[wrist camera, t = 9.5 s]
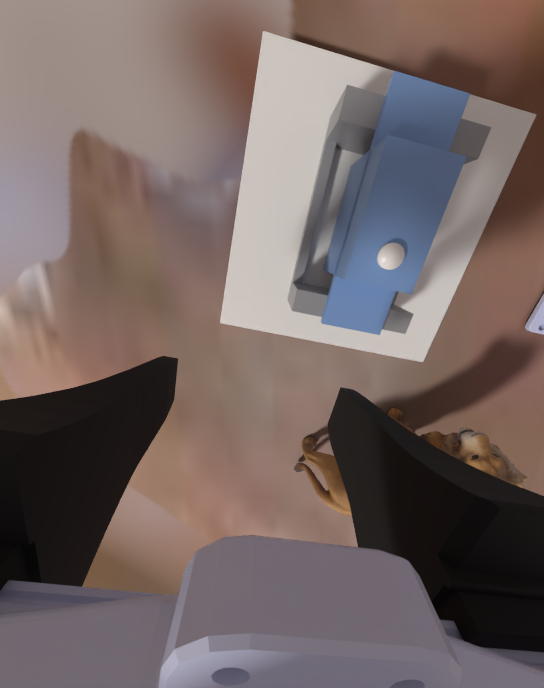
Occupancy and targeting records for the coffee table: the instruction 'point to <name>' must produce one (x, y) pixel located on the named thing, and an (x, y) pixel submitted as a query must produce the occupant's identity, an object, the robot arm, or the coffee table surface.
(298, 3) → the coffee table surface
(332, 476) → the lion figurine
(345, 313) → the block
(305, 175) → the pocket plate
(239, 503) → the coffee table surface
